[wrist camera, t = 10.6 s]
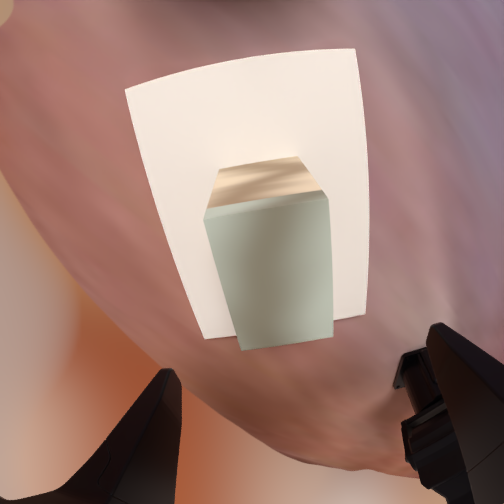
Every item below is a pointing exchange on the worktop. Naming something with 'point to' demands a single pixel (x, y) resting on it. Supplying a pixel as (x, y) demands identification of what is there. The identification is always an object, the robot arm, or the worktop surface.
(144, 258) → the worktop surface
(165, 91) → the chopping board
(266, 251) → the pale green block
